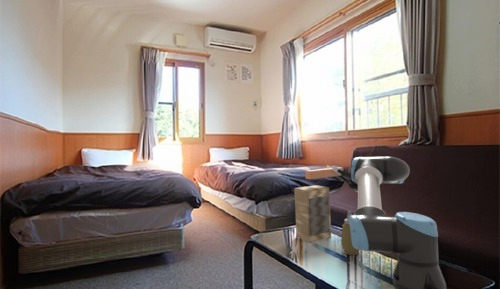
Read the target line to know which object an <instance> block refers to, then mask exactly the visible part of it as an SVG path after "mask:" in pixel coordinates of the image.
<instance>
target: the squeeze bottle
mask: <svg viewBox="0 0 500 289" xmlns="http://www.w3.org/2000/svg"><path fill="white" fill-rule="evenodd" d="M350 215H353V214H352V211H351V210H347V216H346V218H345V219H344V222H343V224H342V226H341V240H340V241H341V243H340V245H341V247H342V249H343V252H344V254H346V255H350V256H356V255H359V252H360V250H358V249H355V248H354V247H353V245H352V241H351V232H350V224H349V216H350Z"/></svg>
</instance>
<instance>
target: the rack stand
mask: <svg viewBox="0 0 500 289" xmlns="http://www.w3.org/2000/svg"><path fill="white" fill-rule="evenodd" d="M293 190H294V208H295V210H294V211H295V230H296V232H295V233H296V235H295V236H296V238H298V237H299V238H298V239H300V238H301V239H300V240H302V241H304V242H307V243H308V244H309V243H312V242H313V243H314V242H317V241H322V240H324V239H329V238H332V222H331V202H330V201H331V200H330V187H329V186H324V185H317V184H316V185H309V186H301V187H294V189H293Z"/></svg>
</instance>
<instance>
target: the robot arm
mask: <svg viewBox="0 0 500 289" xmlns="http://www.w3.org/2000/svg"><path fill="white" fill-rule="evenodd" d="M338 167H339V166H336V165H335V164H333V165H332V166H330V165H329V164H326V166H325V168H324V169H326V168H332V171H334V172H336V173H337V174H339V175H341V174H342V175H341V176H333V177H335V178H337V179H338V180H339V181H341V182H344V183H346V184H348V186H349V188H350V189H351V190H353V191H355V192H356V193H357V209H356V210H355V211H354V213H353V214H352V215H350V216H349V224H350V232H351V241H352V245H353V247H354V248H355V249H358V250H359V251H364V252H375V253H376V252H377V253H389V254H397V261H396V264H395V267H394V270H393V274H392V284H393V286H395V288H396V289H447V283H446V281H445V278H444V275H443V273H442V270H441V268H440V265H439V264H440V263H439V242H438V240H439V239H438V237H439V233H438V226H437V222H436V221H435V220H434V219H432V218H431V217H430V216H427V215H423V214H420V213H415V212H409V211H399V212H396V214H395V216H387V213H386V212H385V211H384V210H383V209H382V208H383V207H382V196H381V188H380V185H381V184H395V185H396V184H403V183H404V182H405V180H406V179H407V178H408V177H409V175H410V173H411V170H410V169H411V168H410V166H409V165H408V163H406V161H405V160H402V159H401V158H398V157H395V156H388V155H387V156H358V157H354V158H352V162H351V170H350V172H348V171H346V169H343V170H341V169H339V168H338Z"/></svg>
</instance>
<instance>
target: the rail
mask: <svg viewBox="0 0 500 289" xmlns="http://www.w3.org/2000/svg"><path fill="white" fill-rule="evenodd" d="M337 167H338V168H339V169H341V170H344V167H339V166H337ZM325 168H326V167H325ZM325 168H320V169H319V168H318V169H311V170H305V171H304V173H305V179H306V180H317V179H325V178H332V177H334V176H341V175H342V174H341V175H339V174H337V173H336V172H334V171H332V168H326V169H325Z"/></svg>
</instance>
